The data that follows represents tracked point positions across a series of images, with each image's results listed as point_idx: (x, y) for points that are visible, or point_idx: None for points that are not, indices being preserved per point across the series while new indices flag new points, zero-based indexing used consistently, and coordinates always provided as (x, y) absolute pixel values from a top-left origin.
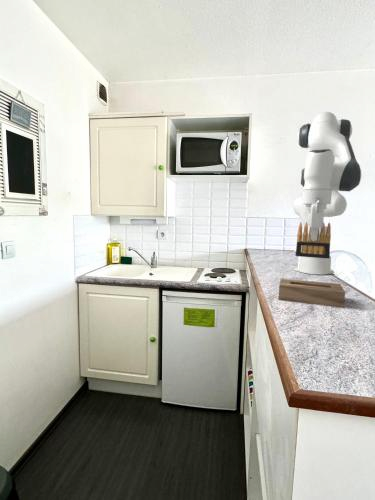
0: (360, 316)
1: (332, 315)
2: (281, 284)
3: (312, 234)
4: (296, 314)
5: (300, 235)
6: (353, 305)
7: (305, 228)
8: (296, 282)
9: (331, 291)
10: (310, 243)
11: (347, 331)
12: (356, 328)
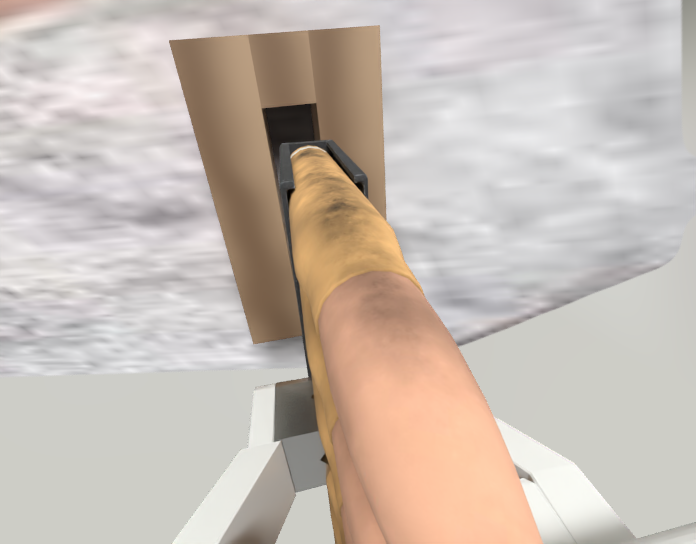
0: (191, 351)
1: (134, 286)
2: (208, 52)
3: (234, 474)
4: (27, 169)
5: (295, 271)
6: None
7: (338, 477)
8: (320, 139)
9: (242, 301)
10: (304, 338)
11: (4, 331)
12: (59, 348)
